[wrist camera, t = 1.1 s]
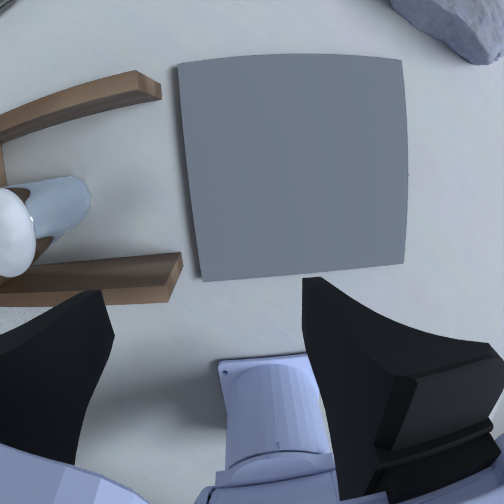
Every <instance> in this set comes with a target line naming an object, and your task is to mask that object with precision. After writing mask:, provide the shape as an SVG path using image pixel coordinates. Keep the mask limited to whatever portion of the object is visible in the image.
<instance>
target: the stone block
mask: <svg viewBox="0 0 504 504" xmlns="http://www.w3.org/2000/svg"><path fill="white" fill-rule="evenodd" d="M390 3H391V6H392V8H393V9H394V10H395V11H396V12H397V13H399V14H400V15H402V16H403V17H404V18H405V19H406V20H408V21H409V22H410V23H411V24H412V25H413V26H415V27H416V28H417V29H418V30H420V31H423V32H425V33H427V34H429V35H431V36H432V37H433V38H435V39H438V40H441V41H442V42H443V43H445V44H446V45H447V46H448V47H449V48H451V49H452V50H453V51H454V52H456V53H457V54H459V55H460V56H462V57H463V58H465V59H466V60H468V61H469V62H470V63H472V64H474V65H489V64H491V63H493V62H494V61H498V59H499V58H500V57H502V56H503V55H504V0H390Z"/></svg>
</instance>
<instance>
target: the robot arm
mask: <svg viewBox="0 0 504 504" xmlns="http://www.w3.org/2000/svg"><path fill="white" fill-rule="evenodd" d="M302 332H303V338H304V343H305V348H306V352H307V354H298V355H289V356H279V357H268V358H255V359H242V360H226V361H221V362H219V363H218V372H219V377H220V382H221V387H222V392H223V397H224V402H225V407H226V411H227V433H226V457H225V470H224V471H218V472H216V481H215V486H207V487H205V488H204V489H203V490H202V491H201V493H200V494H199V496H198V497H197V499H196V500H195V502H194V504H504V433H503V434H501V435H500V436H499V437H498V438H497V439H496V440H495V441H494V439H493V438H492V436H491V434H490V433H489V432H491V431H492V429H493V424H492V422H491V420H490V419H489V417H488V416H489V415H490V413H491V411H492V409H493V408H494V406H495V404H496V402H497V401H498V399H499V397H500V395H501V393H502V391H503V389H504V361H503V359H502V358H501V357H500V356H499V355H498V354H497V352H496V351H495V350H494V349H493V348H492V347H491V346H490V344H489V343H483V342H474V341H466V340H458V339H453V338H448V337H443V336H439V335H434V334H431V333H427V332H423V331H420V330H417V329H414V328H411V327H408V326H406V325H403V324H400V323H398V322H396V321H393V320H391V319H389V318H387V317H384V316H382V315H380V314H378V313H376V312H374V311H373V310H371V309H369V308H367V307H366V306H364V305H362V304H360V303H359V302H357V301H356V300H354V299H352V298H351V297H349V296H348V295H346V294H345V293H343V292H342V291H340V290H339V289H338V288H336V287H335V286H333V285H332V284H330V283H329V282H328V281H326V280H325V279H323V278H321V277H311V278H302ZM114 337H115V335H114V332H113V329H112V326H111V322H110V319H109V316H108V313H107V309H106V306H105V303H104V299H103V296H102V292H101V290H86V291H83V292H81V293H79V294H77V295H75V296H73V297H71V298H69V299H67V300H65V301H64V302H62V303H60V304H58V305H57V306H55V307H53V308H52V309H50V310H48V311H46V312H45V313H43V314H41V315H39V316H37V317H36V318H34V319H32V320H30V321H28V322H27V323H25V324H23V325H21V326H19V327H17V328H15V329H12V330H10V331H8V332H6V333H4V334H1V335H0V504H150V503H149V502H148V501H147V500H145V499H144V498H143V497H141V496H140V495H139V494H137V493H136V492H135V491H134V490H132V489H131V488H129V487H126V486H124V485H122V484H120V483H118V482H116V481H114V480H112V479H110V478H107V477H105V476H104V475H101V474H98V473H95V472H92V471H88V470H85V469H82V468H79V467H76V466H74V465H75V458H76V451H77V446H78V441H79V436H80V431H81V427H82V423H83V420H84V416H85V412H86V409H87V407H88V404H89V401H90V399H91V397H92V394H93V392H94V390H95V387H96V385H97V383H98V381H99V379H100V376H101V374H102V372H103V370H104V367H105V365H106V363H107V360H108V358H109V355H110V352H111V348H112V345H113V341H114ZM224 370H225V371H228V372H223V371H224ZM319 391H320V394H321V397H322V400H323V404H324V408H325V411H326V416H327V422H328V427H329V432H330V437H331V443H332V449H333V453H330V449H329V445H328V440H327V436H326V432H325V428H324V424H323V420H322V416H321V412H320V408H319V404H318V398H319Z"/></svg>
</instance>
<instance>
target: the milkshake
mask: <svg viewBox="0 0 504 504" xmlns="http://www.w3.org/2000/svg"><path fill="white" fill-rule="evenodd" d="M90 199H91V194H90V192H89V190H88V188H87V186H86V184H85V182H84V181H82V180H80V179H78V178H76V177H75V176H66V177H60V178H54V179H49V180H43V181H38V182H32V183H25V184H18V185H11V186H5V187H0V275H1V276H5V277H16V276H18V275H21V274H22V273H24V272H25V271H26V270H27V269H28V268H29V267H30V266H31V265H32V264H33V263H34V262H35V261H36V260H37V259H38V258H39V257H40V256H41V255H42V254H43V253H44V252H45V251H46V250H47V249H48V248H49V247H50V246H51V245H52V244H54V243H55V242H56V241H57V240H58V239H59V238H61V237H62V236H63V235H64V234H65V233H67V232H68V231H69V230H70V229H71V228H72V227H74V226H75V225H76V224H77V223H79V222H80V221H81V220H82V219H83V218H84V216H85V215H86V213H87V212H88V211H89V210H90Z"/></svg>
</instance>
